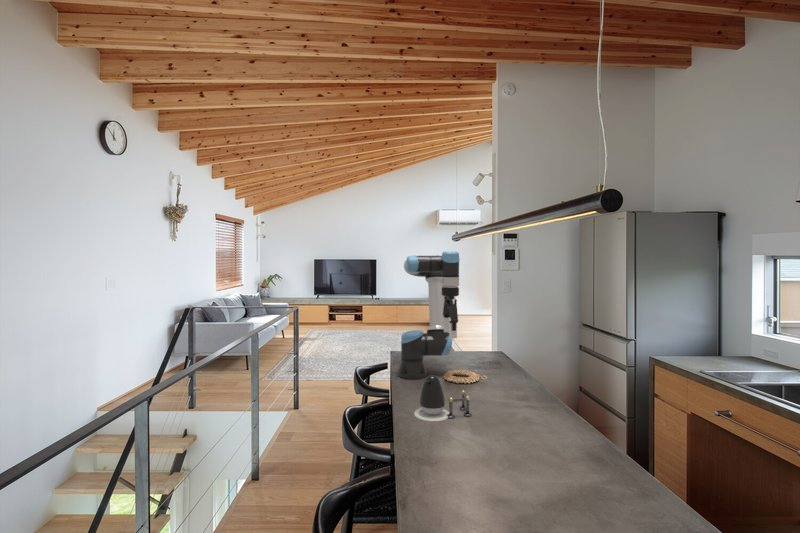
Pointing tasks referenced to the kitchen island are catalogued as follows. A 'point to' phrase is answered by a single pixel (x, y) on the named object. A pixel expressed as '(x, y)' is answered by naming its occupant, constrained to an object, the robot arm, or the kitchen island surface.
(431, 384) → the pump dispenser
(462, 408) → the metal corner railing
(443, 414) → the coaster
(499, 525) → the kitchen island surface
